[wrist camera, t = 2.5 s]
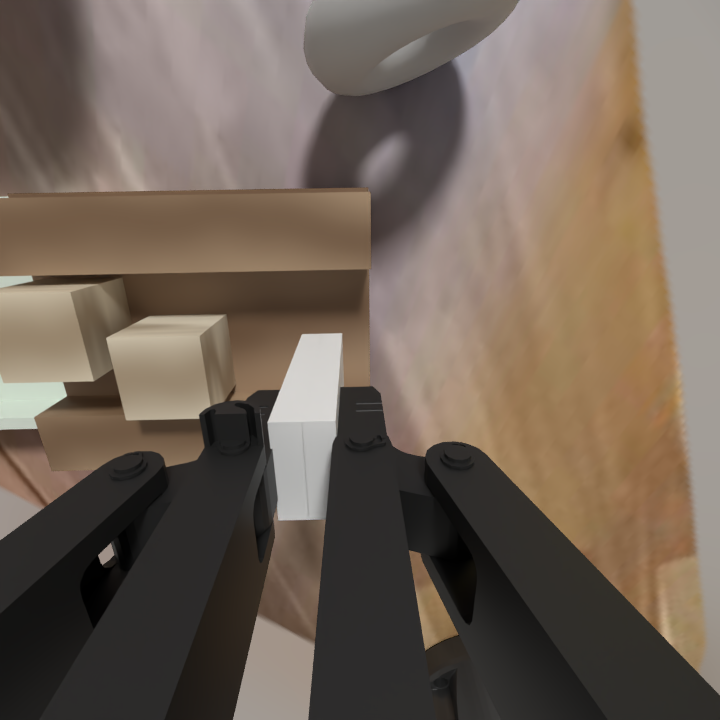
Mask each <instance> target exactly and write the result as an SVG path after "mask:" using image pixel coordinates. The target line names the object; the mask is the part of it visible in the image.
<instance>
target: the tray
mask: <svg viewBox="0 0 720 720" xmlns="http://www.w3.org/2000/svg"><path fill="white" fill-rule="evenodd" d="M0 198H9V197H0ZM31 281H33V279H32V276H0V288H3V287H8V286H12V285H17V284H22V283H26V282H31ZM66 396H67V394H66V391H65V387H64V384H63V382H39V383H3V380H2V377H1V375H0V430H4V429H38V428H37V425H36V422H35V419H34V417H35V416H37V415H38V414H40V413H41V412H43V411H45V410H46V409H48V408H49V407H51V406H52V405H54V404H55V403H57V402H59V401H60V400H62V399H63V398H65V397H66Z"/></svg>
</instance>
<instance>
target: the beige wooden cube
mask: <svg viewBox="0 0 720 720" xmlns="http://www.w3.org/2000/svg"><path fill="white" fill-rule="evenodd" d="M106 340H107V344H108V348H109V352H110V356H111V361H112V365H113V369H114V373H115V377H116V381H117V385H118V389H119V393H120V397H121V401H122V406H123V410H124V414H125V418H126V420H165V419H199V414H200V413H201V412H202V411H203V410H205V409H206V408H208V407H210V406H212V405H214V404H218V403H222V402H224V401H225V399H226V398H227V396H228V395H229V393H230V392H231V391H232V389H233V388H234V386H235V385H236V381H235V374H234V366H233V359H232V351H231V344H230V336H229V329H228V321H227V314H207V315H158V316H148V317H146V318H144V319H142V320H140V321H138V322H136V323H134V324H133V325H131V326H129V327H127V328H125V329H123V330H121V331H119V332H117V333H115V334H113V335H111V336H109V337H107V338H106Z"/></svg>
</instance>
